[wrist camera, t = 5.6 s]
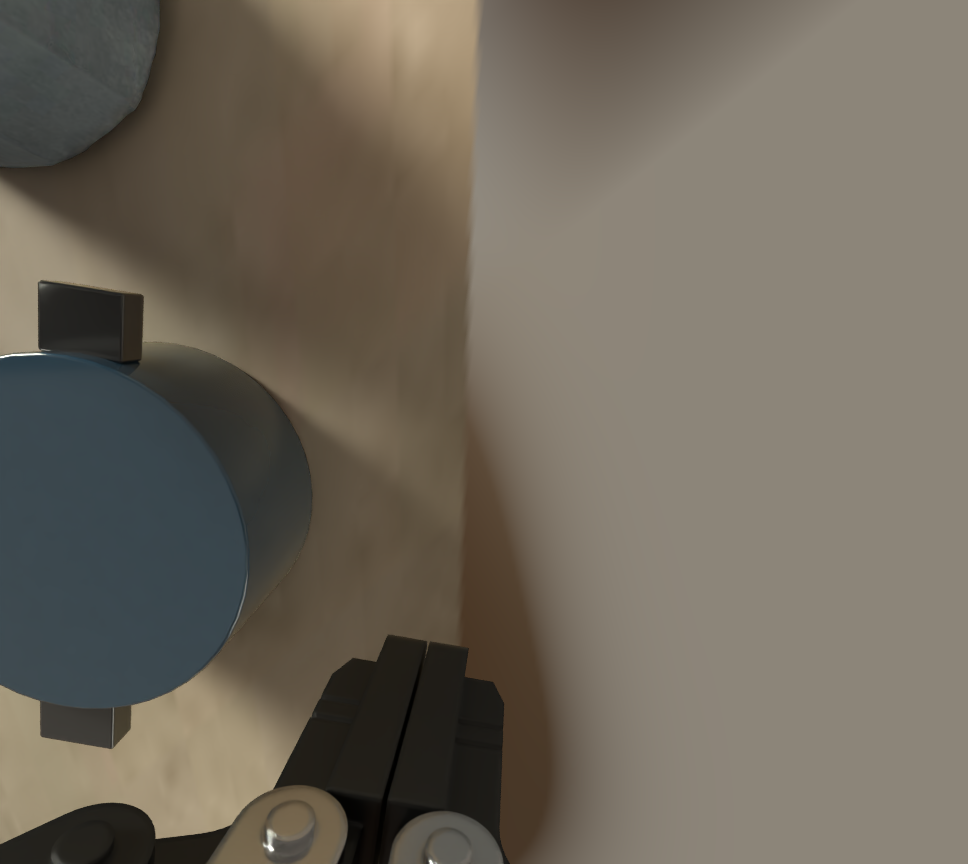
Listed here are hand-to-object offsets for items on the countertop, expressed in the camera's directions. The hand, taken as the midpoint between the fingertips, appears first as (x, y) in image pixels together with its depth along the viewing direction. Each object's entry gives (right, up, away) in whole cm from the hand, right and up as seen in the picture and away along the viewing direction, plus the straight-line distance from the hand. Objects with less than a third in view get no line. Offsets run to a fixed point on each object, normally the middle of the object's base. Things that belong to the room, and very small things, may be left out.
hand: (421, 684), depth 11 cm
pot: (-9, +3, +8) cm, 12 cm away
